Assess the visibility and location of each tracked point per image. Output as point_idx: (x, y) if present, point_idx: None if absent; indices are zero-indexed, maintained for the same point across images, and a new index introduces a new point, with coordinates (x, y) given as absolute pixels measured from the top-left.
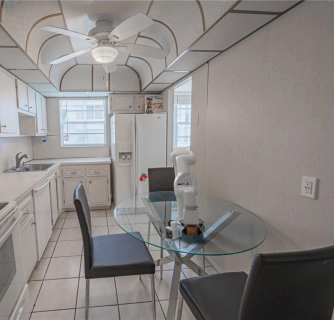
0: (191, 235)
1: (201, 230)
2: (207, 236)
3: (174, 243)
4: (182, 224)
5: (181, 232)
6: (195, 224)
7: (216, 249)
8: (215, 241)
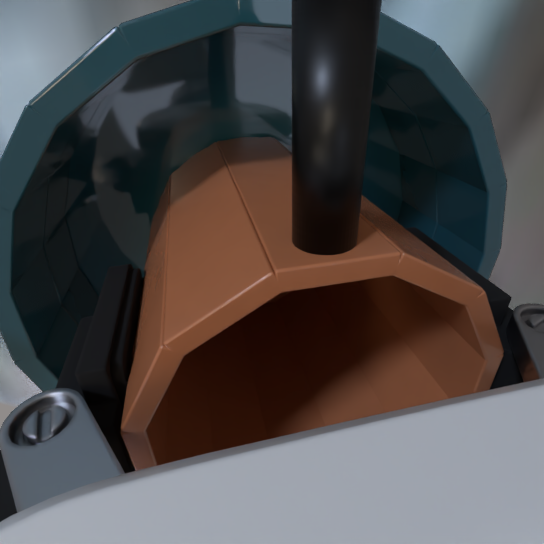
0: (259, 365)
1: (491, 192)
2: (498, 44)
3: (14, 404)
4: None
5: (42, 385)
6: (482, 291)
7: None
8: (529, 212)
